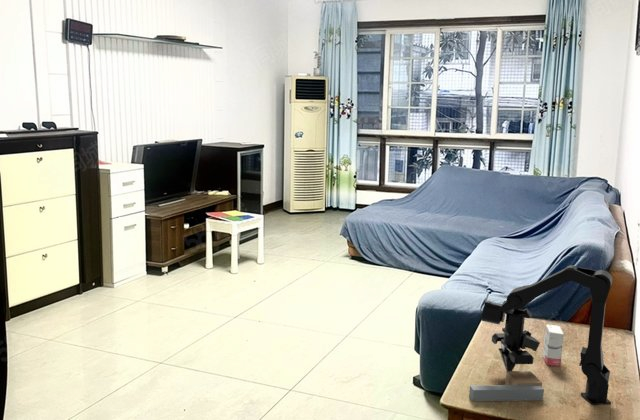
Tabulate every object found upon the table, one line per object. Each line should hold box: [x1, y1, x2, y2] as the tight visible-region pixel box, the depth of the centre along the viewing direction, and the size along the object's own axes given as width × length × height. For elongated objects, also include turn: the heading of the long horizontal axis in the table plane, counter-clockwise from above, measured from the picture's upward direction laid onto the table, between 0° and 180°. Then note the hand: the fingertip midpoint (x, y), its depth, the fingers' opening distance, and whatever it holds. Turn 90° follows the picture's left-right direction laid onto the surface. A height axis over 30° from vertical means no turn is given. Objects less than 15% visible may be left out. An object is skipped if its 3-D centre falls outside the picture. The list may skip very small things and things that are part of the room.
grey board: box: [468, 384, 545, 402], centre depth 183 cm, size 3×22×4 cm, turn 96°
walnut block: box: [504, 370, 543, 388], centre depth 189 cm, size 8×8×4 cm
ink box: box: [542, 324, 565, 367], centre depth 212 cm, size 9×5×12 cm, turn 168°
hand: (509, 372), depth 197 cm, fingers closed
